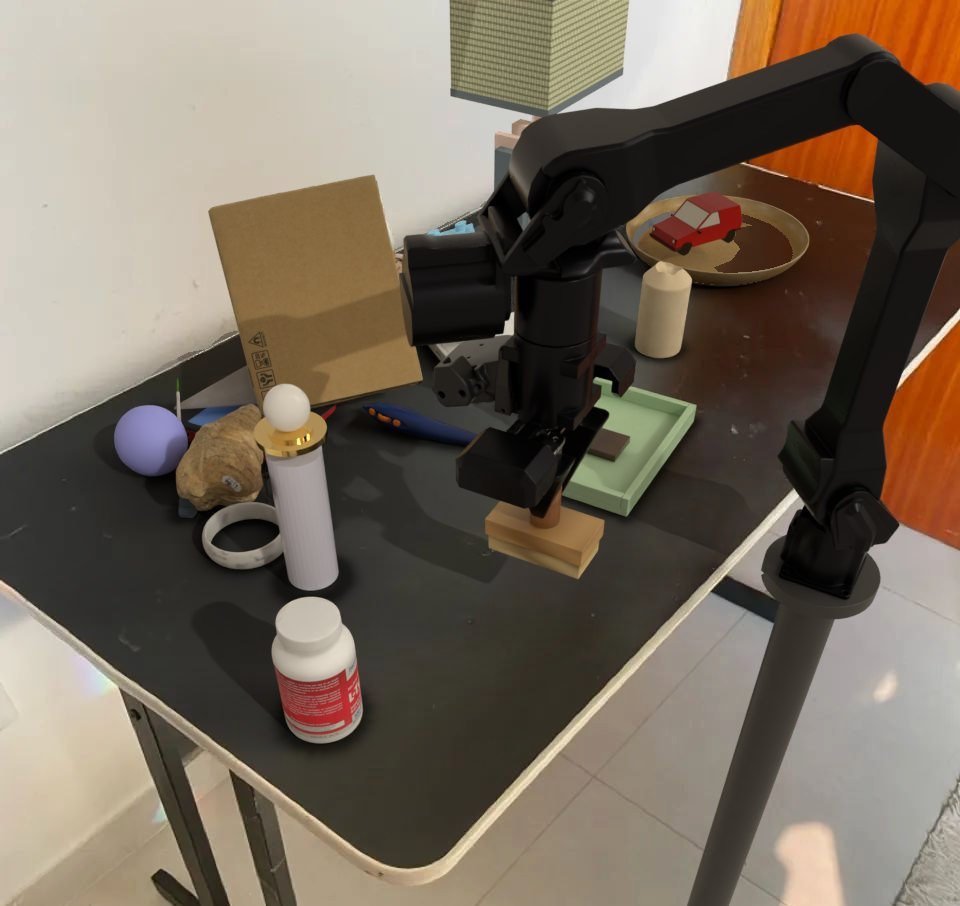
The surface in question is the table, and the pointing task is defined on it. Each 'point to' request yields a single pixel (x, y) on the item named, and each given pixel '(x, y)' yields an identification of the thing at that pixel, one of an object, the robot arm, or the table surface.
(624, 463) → the tray
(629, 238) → the plant saucer
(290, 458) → the candle
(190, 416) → the game console
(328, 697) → the pill bottle
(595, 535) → the brush
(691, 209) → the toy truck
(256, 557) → the ring
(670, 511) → the table surface
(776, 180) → the table surface
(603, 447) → the dark brown block
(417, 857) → the table surface
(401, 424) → the tapered navy handle
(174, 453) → the sphere
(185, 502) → the oar
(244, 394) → the grey triangular spike
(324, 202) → the box
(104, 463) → the table surface
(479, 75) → the desk lamp
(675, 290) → the candle
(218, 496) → the seashell
